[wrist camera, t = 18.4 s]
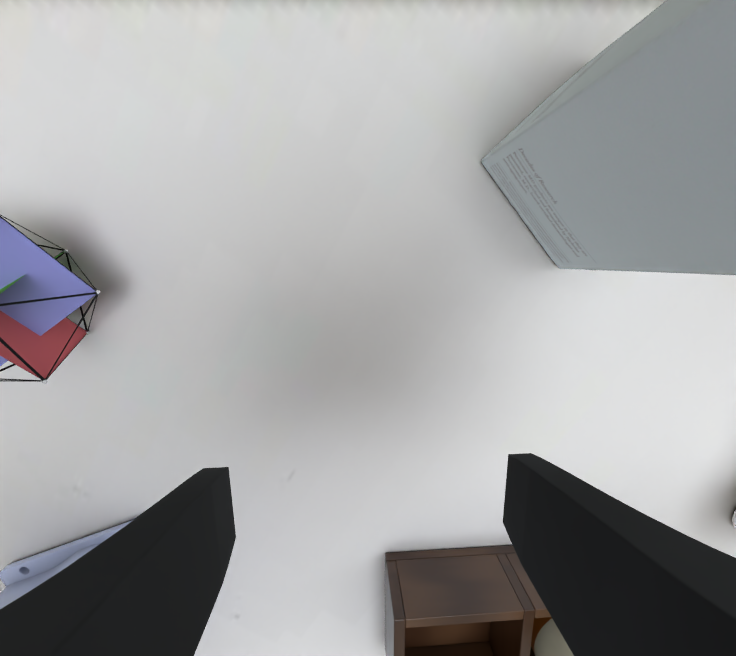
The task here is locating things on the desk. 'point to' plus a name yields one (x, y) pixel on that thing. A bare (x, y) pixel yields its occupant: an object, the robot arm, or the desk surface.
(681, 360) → the desk surface
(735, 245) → the white packaging box
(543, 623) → the amber bottle
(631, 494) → the desk surface
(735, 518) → the rabbit
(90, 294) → the geometric puzzle
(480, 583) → the wooden compartment tray
